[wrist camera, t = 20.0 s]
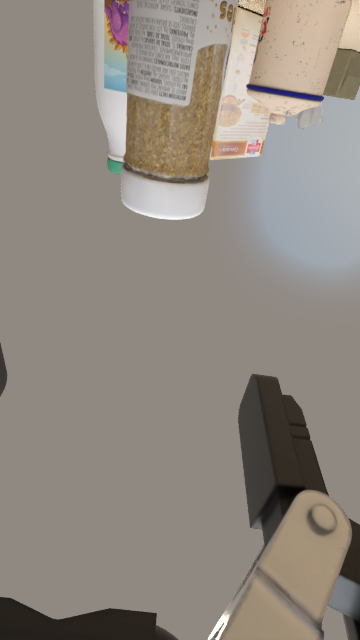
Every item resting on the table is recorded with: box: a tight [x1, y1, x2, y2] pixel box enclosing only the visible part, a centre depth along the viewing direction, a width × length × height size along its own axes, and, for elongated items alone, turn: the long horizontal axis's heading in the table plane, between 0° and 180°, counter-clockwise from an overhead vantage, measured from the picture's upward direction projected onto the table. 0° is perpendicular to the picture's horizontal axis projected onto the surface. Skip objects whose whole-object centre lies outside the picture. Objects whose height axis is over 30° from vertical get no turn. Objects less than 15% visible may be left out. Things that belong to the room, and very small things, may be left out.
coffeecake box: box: [209, 7, 271, 160], centre depth 58 cm, size 15×7×20 cm, turn 45°
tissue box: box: [292, 49, 360, 129], centre depth 81 cm, size 19×10×16 cm, turn 137°
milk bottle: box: [93, 0, 129, 174], centre depth 40 cm, size 8×8×20 cm
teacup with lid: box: [246, 0, 351, 125], centre depth 39 cm, size 12×9×12 cm
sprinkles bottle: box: [121, 0, 239, 220], centre depth 15 cm, size 5×5×13 cm
